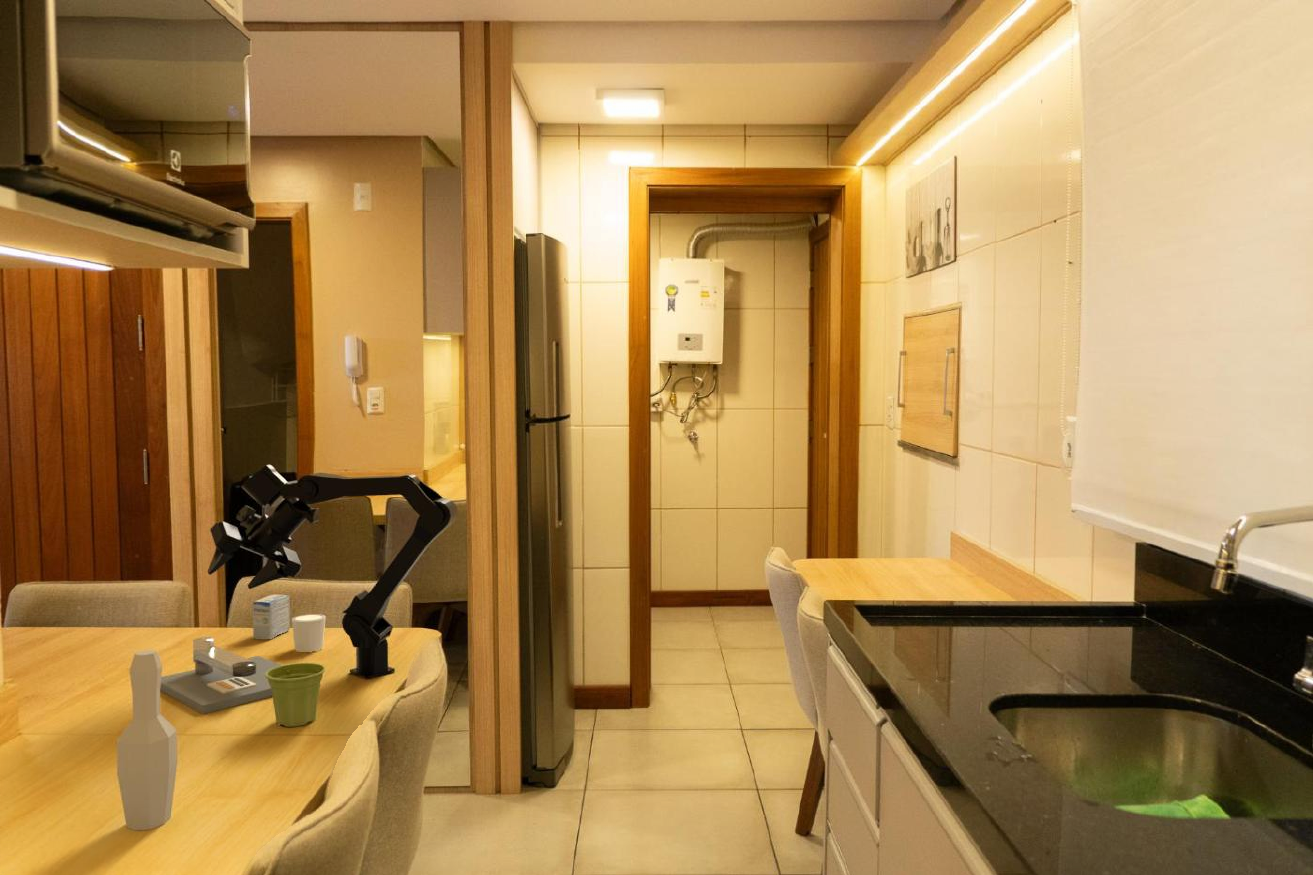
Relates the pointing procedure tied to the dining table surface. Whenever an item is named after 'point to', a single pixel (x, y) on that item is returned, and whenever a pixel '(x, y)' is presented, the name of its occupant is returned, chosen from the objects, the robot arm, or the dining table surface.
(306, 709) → the plant pot
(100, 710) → the dining table surface
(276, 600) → the medicine box
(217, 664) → the swing arm
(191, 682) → the label board
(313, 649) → the white cup
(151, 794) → the low poly bottle
